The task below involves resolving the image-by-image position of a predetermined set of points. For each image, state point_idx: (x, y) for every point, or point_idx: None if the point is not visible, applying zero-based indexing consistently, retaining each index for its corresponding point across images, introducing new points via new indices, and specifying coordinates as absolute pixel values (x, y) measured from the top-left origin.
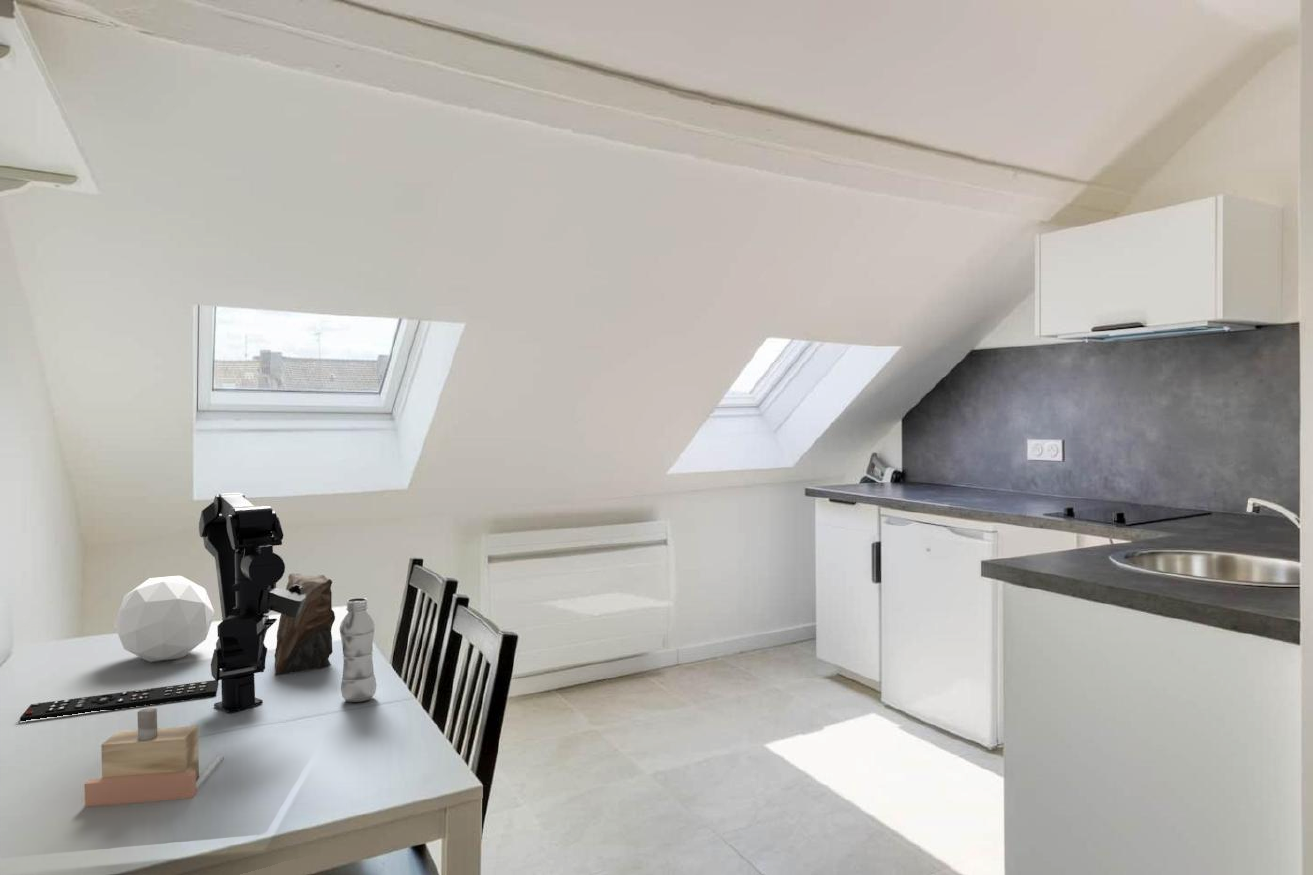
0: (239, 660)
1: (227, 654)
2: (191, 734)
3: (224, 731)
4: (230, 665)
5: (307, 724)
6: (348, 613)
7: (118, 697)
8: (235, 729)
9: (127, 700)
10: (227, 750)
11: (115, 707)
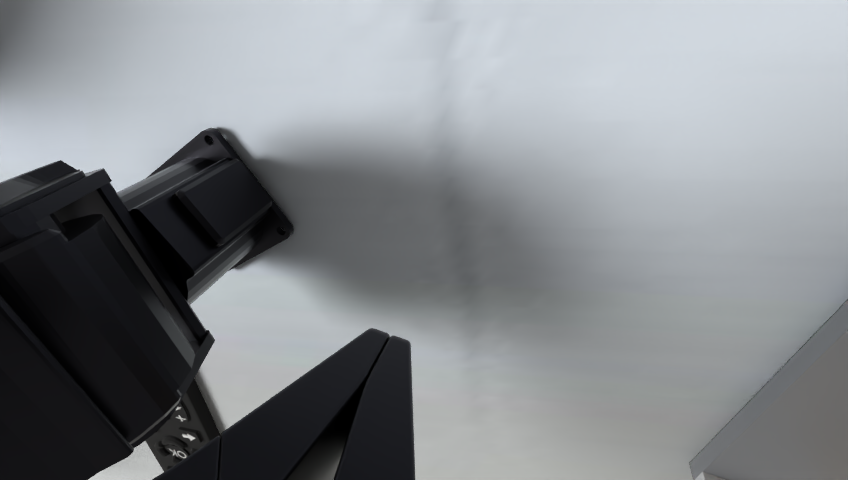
0: (142, 334)
1: (135, 414)
2: None
3: (461, 250)
4: (177, 353)
5: None
6: None
7: (167, 433)
8: (457, 218)
9: (186, 424)
10: (679, 249)
11: (215, 436)
